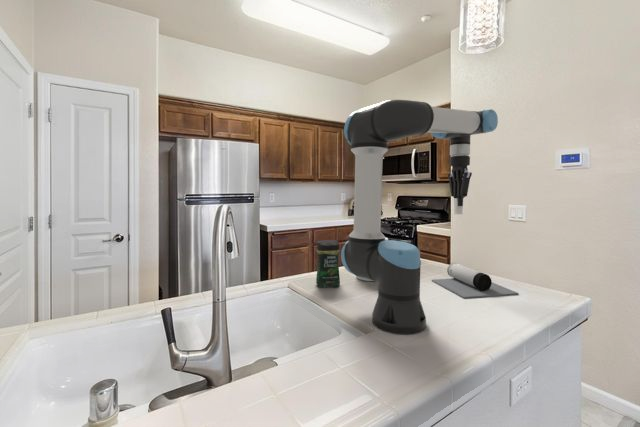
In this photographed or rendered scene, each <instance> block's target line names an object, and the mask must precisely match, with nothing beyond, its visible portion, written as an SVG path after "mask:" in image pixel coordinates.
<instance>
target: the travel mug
mask: <svg viewBox="0 0 640 427" xmlns="http://www.w3.org/2000/svg"><path fill="white" fill-rule="evenodd" d="M446 269H447V270H446V273H447V275H448V276H449V277H450V278H455V279H457V280H460V281H462V282H464V283H466V284H469V285H471V286H473V287H476V288H478V289H479V290H480V291H486V290H488V289H489V288H490V287H491V284H492V282H493V281H492V277H490V275H488V274H486V273H484V272H481V271H478V270H477V269H476V270H475V269H473V268H470V267H467V266H465V265H462V264H458V263H457V262H451V263H450V264H449V265H448V266H447V268H446Z"/></svg>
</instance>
